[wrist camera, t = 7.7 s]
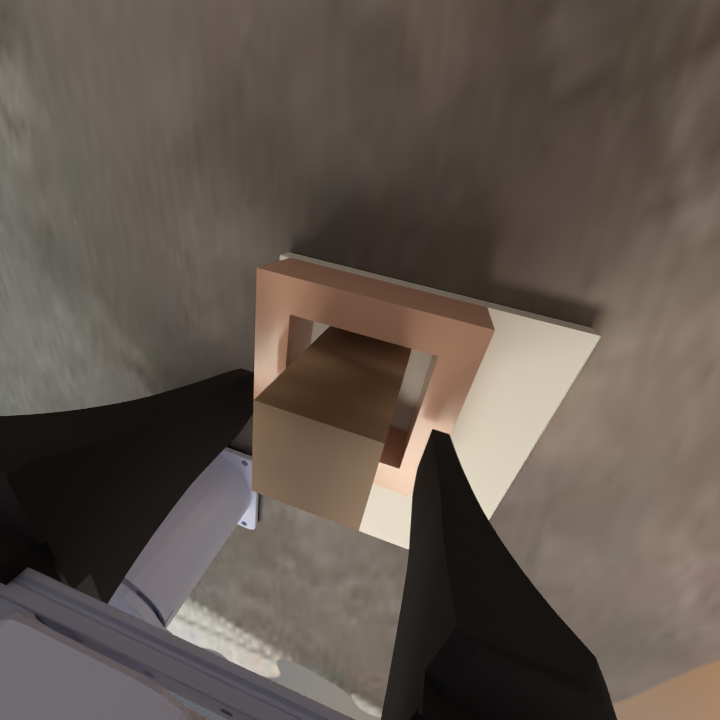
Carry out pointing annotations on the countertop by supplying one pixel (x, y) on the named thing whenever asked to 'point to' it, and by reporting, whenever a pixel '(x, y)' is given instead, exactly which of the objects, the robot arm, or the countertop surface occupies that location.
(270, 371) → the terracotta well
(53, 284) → the countertop surface
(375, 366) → the walnut block
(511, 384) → the cream board
